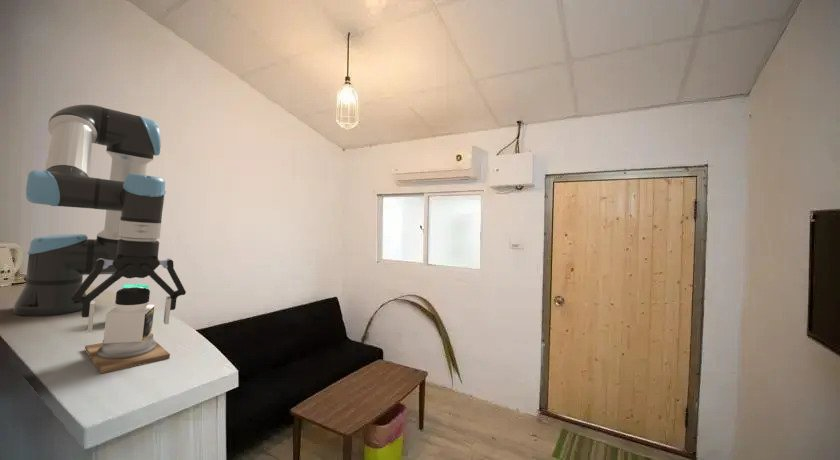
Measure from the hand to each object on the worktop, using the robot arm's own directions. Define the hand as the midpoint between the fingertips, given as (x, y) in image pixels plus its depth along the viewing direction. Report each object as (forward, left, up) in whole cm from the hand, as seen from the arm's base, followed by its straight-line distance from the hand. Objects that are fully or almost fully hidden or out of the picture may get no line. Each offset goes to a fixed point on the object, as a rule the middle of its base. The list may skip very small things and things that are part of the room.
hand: (130, 326), depth 77 cm
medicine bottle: (0, 0, -3) cm, 3 cm away
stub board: (0, 0, -7) cm, 7 cm away
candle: (-27, +7, -7) cm, 29 cm away
